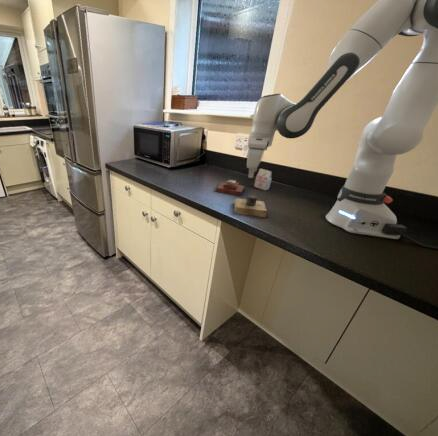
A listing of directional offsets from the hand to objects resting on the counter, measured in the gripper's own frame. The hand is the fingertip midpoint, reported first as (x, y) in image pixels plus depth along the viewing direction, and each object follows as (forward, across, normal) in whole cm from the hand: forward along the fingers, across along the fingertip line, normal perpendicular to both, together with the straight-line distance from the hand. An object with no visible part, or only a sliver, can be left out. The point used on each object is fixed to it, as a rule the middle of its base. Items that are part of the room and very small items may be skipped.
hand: (252, 174), depth 98 cm
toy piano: (+15, -17, -10) cm, 25 cm away
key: (+12, -17, -10) cm, 23 cm away
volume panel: (+15, +3, +2) cm, 16 cm away
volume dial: (+12, +3, +2) cm, 13 cm away
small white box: (+15, -30, +4) cm, 34 cm away
